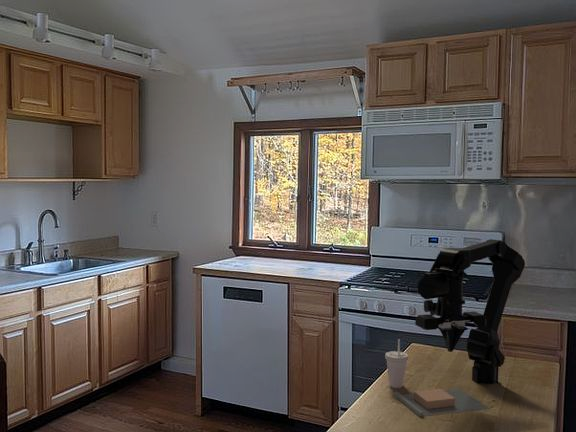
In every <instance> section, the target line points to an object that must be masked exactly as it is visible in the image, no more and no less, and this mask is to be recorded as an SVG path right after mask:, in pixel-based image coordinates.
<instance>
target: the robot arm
mask: <svg viewBox="0 0 576 432" xmlns="http://www.w3.org/2000/svg"><path fill="white" fill-rule="evenodd" d="M487 258H488V260H489V262H490V263H492V266H491V273H492V275H493V282H492V285H491V288H490V292H489V295H488V299H487V301H486V304H485V308H484V310H483V313H479V312H477V311H464V312H463V305H466V300H465V299H463V295H464V294H463V291H464V290H463V289H464V285H463V283H464V279H467V278H469V275H468V274H467V272H465V270H467V269H469V268H470V267H471V265H472V264H473V263H474V262H475V263H476V262H477V261H481V260H484V259H487ZM525 266H526V261H525V259H524V257H523V255H521V254H520V253H519V252H518V251H517V250H515V249H513V248H512V247H510V246H509V245H508V244H507V243H506V242H505V241H504V240H502V239H500V240H499V239H492V238H491V239H487V240H486V241H482V242H480V243H479V242H478V243H475V244H472V245H468V246H465V247H460V248H459V247H444V248H441V249H440V250H439V252H438V254H437V256H436V259H435V260H434V262H433V264H432V266H431V267H430V270H429V272H424V273H423V277H422V278H421V279H420V280H419V282H418V284H417V292H418V294H419V296H420V297H421V298H423V299H425V300H424V301H423V311H424V313H429V314H417V316H416V318H415V321H414V323H415V324H414V325H415V326H417V327H419V328H421V329H422V330H426V331H432V330H437V329H438V331H439V332H440V333H441V335H442V339H443V341H444V343H445V346H446V350H447V352H450V353H452V352H454V350H455V347H456V345H457V344H458V342H459V340H460V339H461V338H462V335H463V334H464V333H465V331H468V327H466V324H467V323H473V324H474V325H475V326H476V328H471V329H470V331H469V334H468V337H467V339H466V347H465V348H466V352H467V356H468V359H469V360H471V361H473V366H472V370H471V381H473V382H475V383H476V384H483V385H484V384H485V385H492V384H493V385H494V384H495V383H497V384H498V385H500V386H502V383H501V382H500V381H499V367H502V366H504V365H505V360H506V357H505V355H504V354H503V352H502V351H501V350H500V349H499V348H500V344H501V341H500V337H499V333H498V331H499V326H500V323H501V320H502V317H503V313H504V311H505V307H506V304H507V300H508V298H509V294H510V291H511V288H512V285H514V283H515V282H516V281H518V279H520V278H521V276H522V274H523V271H524V269H525ZM432 299H437V301H436V302H434V301H433V300H432ZM435 316H437V317H435Z"/></svg>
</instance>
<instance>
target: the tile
mask: <svg viewBox="0 0 576 432" xmlns="http://www.w3.org/2000/svg"><path fill="white" fill-rule="evenodd" d="M444 390H445V389H442V388H435V389H424V390H415V391H413V394H414V399H415V400H416V401H417V402H418V403H420V404H421V405H422V406H424V407H425V408H426V409H432V408H441V407H450V406H455V398H454V397H452V396H451V395H449V394H448V393H447V392H445V391H444Z"/></svg>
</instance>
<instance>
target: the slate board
mask: <svg viewBox="0 0 576 432" xmlns="http://www.w3.org/2000/svg"><path fill="white" fill-rule="evenodd" d="M443 390H444V391H445V392H447V393H448V394H449V395H451V396H452V397H454V398H455V406H450V407H441V408H432V409H426V408H425V407H424V406H422V405H421V404H420V403H418V402H417V401H416V400H415V399H414V393H409V394H401V393H400V392H399V391H394V393H393V394H394V396H393V397H395V398H396V399H397V400H399V401H400V402H401V403H402V404H404V405H405V407H407V408H408V409H409V410H410V411H412V412H413V413H414V414H416V415H417V416H418V417H419V418H422V417H431V416H440V415H446V414H454V413H455V414H456V413H465V412H470V411H471V412H473V411H480V410H490V409H491V407H489V406H487V405H486V404H484V403H482V401H480V400H478V399H477V398H475V397H473V396H471V394H469V393H467V392H466V391H464V390H463V389H461V388H455V389H443Z"/></svg>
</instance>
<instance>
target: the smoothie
mask: <svg viewBox="0 0 576 432" xmlns="http://www.w3.org/2000/svg"><path fill="white" fill-rule="evenodd" d="M400 348H401V339H400V338H399V339H397V351H395V350H393V351H391V350H390V351H388V352H385V356H384V358H385V359H386V367H387V376H388V386H389V387H390V388H395V389H400V388H403V387H404V383H405V375H406V369H407V361H408V360H409V354H408V353H406V352H403V351H401V349H400Z"/></svg>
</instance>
